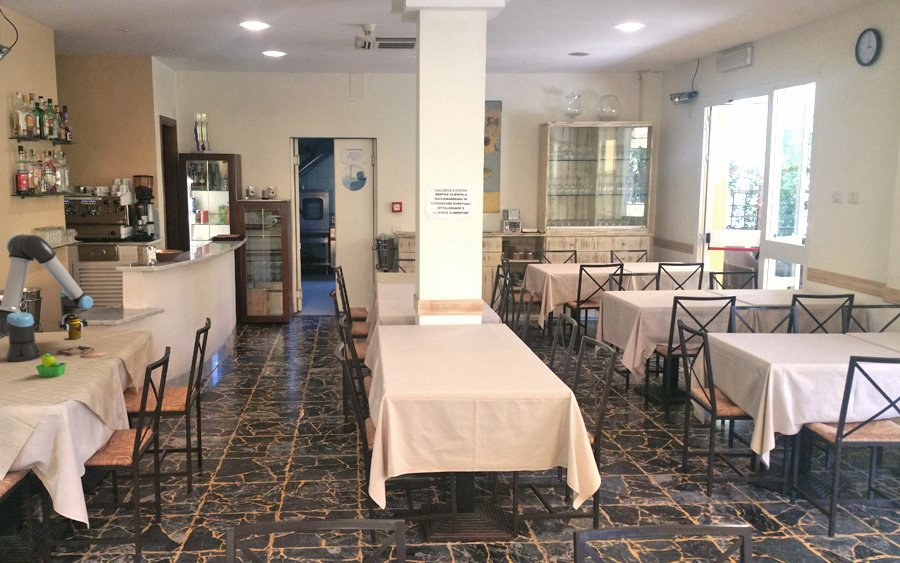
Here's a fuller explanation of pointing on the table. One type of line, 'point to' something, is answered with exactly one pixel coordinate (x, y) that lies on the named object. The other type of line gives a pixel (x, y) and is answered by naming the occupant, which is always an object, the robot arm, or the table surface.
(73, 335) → the condiment
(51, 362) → the fruit basket
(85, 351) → the dark brown openwork trivet
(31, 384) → the table surface
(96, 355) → the serving plate
